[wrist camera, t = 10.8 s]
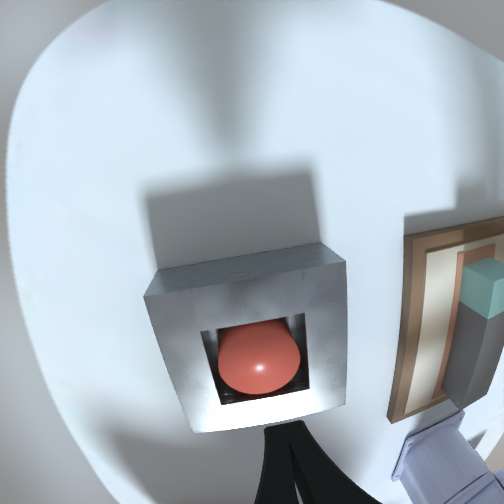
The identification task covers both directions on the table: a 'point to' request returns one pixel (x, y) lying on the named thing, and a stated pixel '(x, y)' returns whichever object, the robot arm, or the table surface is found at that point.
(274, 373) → the button
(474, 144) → the table surface
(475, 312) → the marker
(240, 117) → the table surface
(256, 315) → the button housing
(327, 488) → the robot arm
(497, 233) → the wooden picture frame
